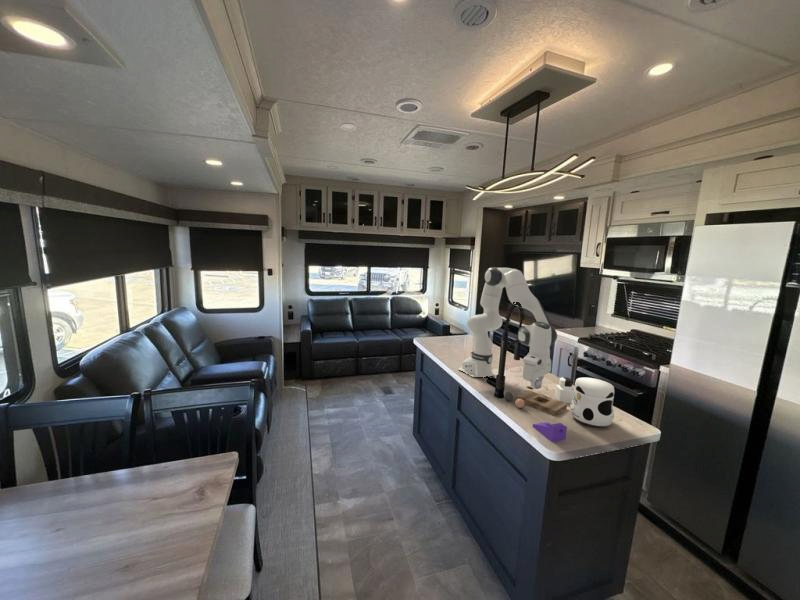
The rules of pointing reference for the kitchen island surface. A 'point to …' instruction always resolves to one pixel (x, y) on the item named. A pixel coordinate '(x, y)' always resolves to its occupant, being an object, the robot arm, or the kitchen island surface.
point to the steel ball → (538, 384)
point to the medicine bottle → (564, 390)
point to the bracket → (552, 431)
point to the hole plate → (549, 406)
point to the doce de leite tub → (593, 402)
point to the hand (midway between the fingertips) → (536, 385)
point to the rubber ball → (508, 396)
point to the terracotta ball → (520, 403)
